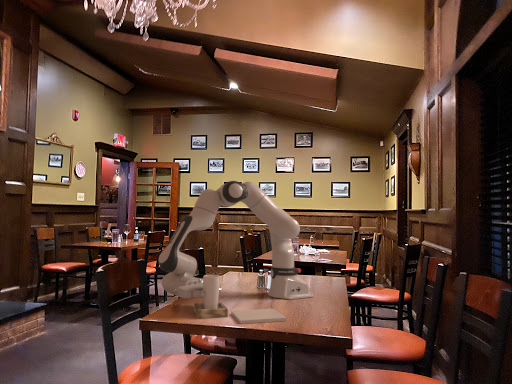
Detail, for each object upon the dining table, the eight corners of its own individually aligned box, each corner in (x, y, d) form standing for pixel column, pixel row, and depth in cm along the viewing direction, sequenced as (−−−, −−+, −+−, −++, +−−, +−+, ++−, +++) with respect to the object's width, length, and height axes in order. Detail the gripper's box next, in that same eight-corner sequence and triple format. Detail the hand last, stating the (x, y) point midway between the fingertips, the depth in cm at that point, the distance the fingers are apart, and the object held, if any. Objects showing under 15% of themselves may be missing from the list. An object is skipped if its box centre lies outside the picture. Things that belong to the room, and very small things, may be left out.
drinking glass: (202, 311, 152) (203, 274, 153) (219, 311, 152) (220, 274, 153) (201, 316, 145) (202, 277, 146) (218, 316, 146) (220, 277, 147)
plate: (273, 311, 155) (273, 308, 155) (286, 320, 141) (286, 317, 141) (231, 313, 149) (231, 310, 149) (240, 324, 136) (240, 320, 136)
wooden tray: (221, 309, 156) (221, 302, 156) (227, 316, 145) (227, 308, 145) (194, 311, 153) (194, 303, 153) (198, 318, 142) (198, 310, 142)
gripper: (169, 283, 150) (192, 288, 141) (207, 277, 166) (230, 281, 157) (169, 299, 150) (191, 304, 141) (207, 291, 165) (229, 296, 156)
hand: (212, 292), depth 149 cm, fingers open, 8 cm apart
